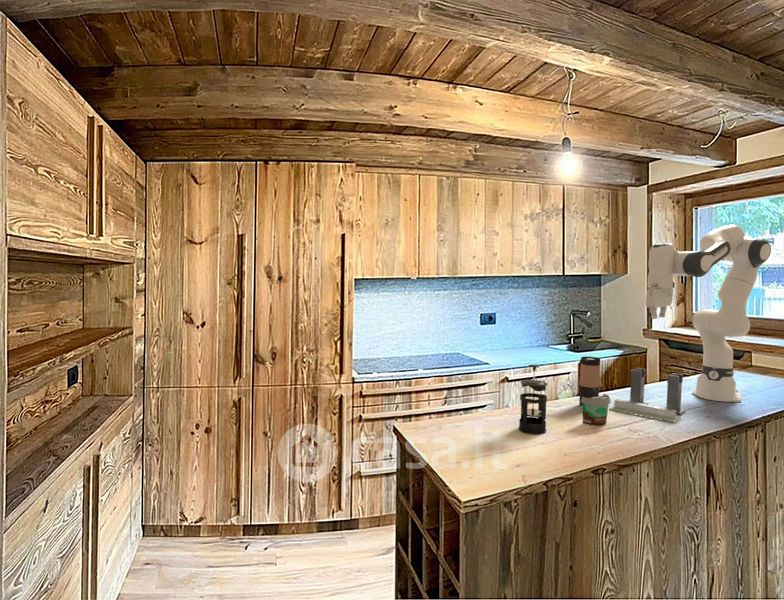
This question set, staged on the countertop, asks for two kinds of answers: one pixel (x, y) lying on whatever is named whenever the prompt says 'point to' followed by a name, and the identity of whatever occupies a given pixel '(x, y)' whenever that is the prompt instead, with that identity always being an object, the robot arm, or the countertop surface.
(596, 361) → the travel mug
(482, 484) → the countertop surface
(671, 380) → the posts
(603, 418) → the food container
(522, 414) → the french press
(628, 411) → the mat
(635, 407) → the rail
